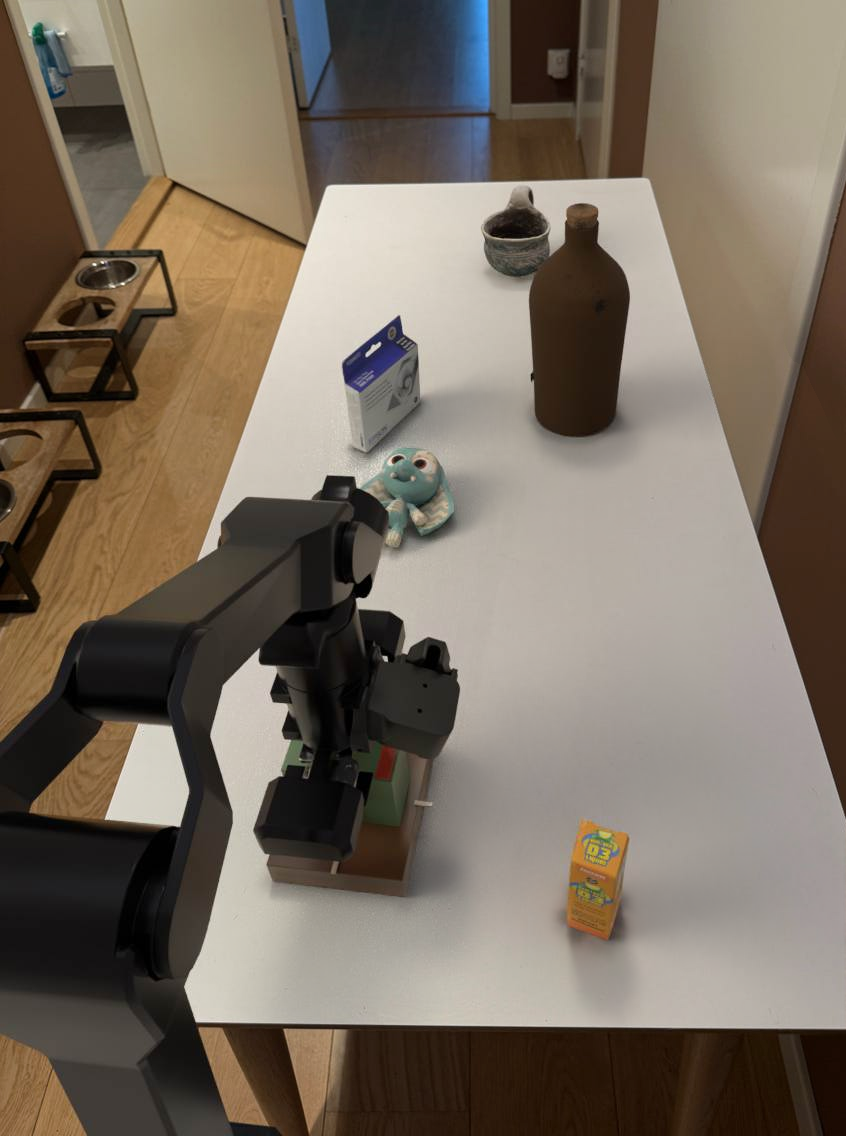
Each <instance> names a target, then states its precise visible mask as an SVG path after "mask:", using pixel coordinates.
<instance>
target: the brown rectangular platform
mask: <svg viewBox="0 0 846 1136" xmlns="http://www.w3.org/2000/svg"><path fill="white" fill-rule="evenodd" d="M406 756H407V762H408V768H409V775H410V783H409V787H408V792H407V796H406V800H405V805H404V809H403V814H402V818H401V823H400V826H399V827H397V826H389V825H380V824H372V823H363V822H362V823H361V827H360V832H359V836H358V840H357V844H356V848H355V853H354V855H353V856H351V857H350V858H349V859H347V860H346V861H344V862H336V861H327V860H317V859H307V858H297V857H288V856H278V855H268V858H267V861H266V868H267V870H268V873H269V876H270V879H271V881H272V882H275V883H276V882H277V883H284V884H285V883H286V884H292V885H293V884H294V885H301V886H309V887H310V886H311V887H318V888H327V889H334V890H335V889H336V890H343V891H352V892H360V893H369V894H377V895H385V896H394V897H403V898H406V897H407V893H408V888H409V885H410V884H409V883H410V878H411V873H412V868H413V862H414V858H415V854H416V849H417V843H418V837H419V833H420V828H421V824H422V823H421V822H422V818H423V814H424V813H423V812H424V808H433V806H434V802H433V801H426V797H427V793H428V788H429V783H430V778H431V772H432V767H433V763H434V759H423V758H420V757H418V756H417V755H415V754H412V753H408V752H406Z"/></svg>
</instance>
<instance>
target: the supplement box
mask: <svg viewBox="0 0 846 1136" xmlns="http://www.w3.org/2000/svg"><path fill="white" fill-rule="evenodd" d="M578 826H579V827H578V830H577V834H576V836H575V837H576V838H575V842H574V845H573V849H572V854H571V857H570V862H569V863H570V864H569V876H568V891H567V905H566V925H567V926H568V927H570V928H573V929H576V930H579V931H581V932H583V933H587V934H589V935H592V936H595V937H598V938H601V939H602V940H606V941H609V938H610V936H611V934H612V930H613V927H614V924H615V921H616V918H617V915H618V911H619V908H620V905H621V900H622V893H623V884H624V876H625V869H626V862H627V855H628V849H629V844H630V836H629V834H628V833H626V832H623V831H616V830H615V831H614V830H612V829H610V828H606V827H603V826H600V825H598V824H595V823H594V822H593V821H590V820H588V819H584V818H582V819H580V822H579V825H578Z"/></svg>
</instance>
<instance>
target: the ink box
mask: <svg viewBox="0 0 846 1136" xmlns="http://www.w3.org/2000/svg"><path fill="white" fill-rule="evenodd" d="M379 343H380V345H379V346H378V347H377V348H376V349H375V350H373V352H371V353H369V355H368V356H366V355H367V353H368V352H370V350H371V349H372V347H373V346H376V345H378V344H379ZM419 360H420V359H419V344H418V343H417V342H416V341H414V340H413V339H411V338H410V337H409V335H407V334H404V331H403V324H402V318H401V315H400V314H398V315H397V316H396V317H394V318H393V319H392V320H391V321H390V322H388V323H387V324H386V325H385V326H384V327H382V328H381V329H380V330H379V331H378V332H375V334H373V335H372V336H371V337H370V338H369V339H367V340H366V341H365V342H364V343H363V344H361V345H360V346H359V347H357V348H356V349H355V350H354V351H353V352H351V354H349V355H348V356H347V357H346V358H344V359H343V360H342V361H341V371H342V377H343V382H344V383H343V384H344V390H345V392H344V393H345V395H346V396H345V398H346V407H347V412H348V422H349V428H350V436H351V445H352V448H353V449H354V450H356V451H360V452H363V453H365V454H366V453H369V452H370V451H371V450H372V449H373V448H374V447H375V446H376V445H377V444H378V443H379V442H380V441H381V440H383V438H384V437H386V435H387V434H388V433H389V432H390V431H392V429H394V428H395V427H396V426H397V425H398V424H399V423H400V422H401V421H402V420H403V419H404V418H405V417H407V415H408V414H409V413H411V412H412V411H413V410H414V409H415V408H416V407H417V406H418V405H419V404H420V403H421V384H420V382H421V381H420V361H419Z"/></svg>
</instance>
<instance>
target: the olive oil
mask: <svg viewBox="0 0 846 1136" xmlns="http://www.w3.org/2000/svg"><path fill="white" fill-rule="evenodd" d="M565 216H566V220H565V221H564V243H563V244H562V245H561V246H560V247H559V248H558V249H557V250H555V251H554V252H553V253H552V254H551V255H549V258H548V259H546V260H545V261H544V262H543V263H542V264H541V266H540V267H539V268H538V270H537V271H536V272H534V276H533V279H532V281H531V284H530V288H529V293H528V310H529V326H530V340H531V341H530V342H531V358H532V372H531V373H530V382H531V384H532V382H533V398H534V399H533V401H534V404H533V405H534V415H535V418H536V420H537V421H538V423H539V424H540V425H541V426H542V427H543V428H544V429H546V430H548V431H550V432H552V433H555V434H557V435H560V436H565V437H587V436H591V435H595V434H598V433H600V432H602V431H604V430H605V429H607V428H609V426H610V425H612V423H613V422H614V420H615V418H616V416H617V415H616V414H617V406H618V396H619V389H620V388H619V387H620V377H621V371H622V364H623V363H622V362H623V354H624V347H625V340H626V333H627V324H628V318H629V311H630V304H631V303H630V302H631V292H630V285H629V282H628V278H627V275H626V273H625V271H624V269H623V268H622V266H621V265H620V263H618V262H617V260H615V258H613V257H612V255H610V254H609V253H608V252H607V251H606V250H605V249H604V248H603V247H602V246H601V245H600V244H599V242H598V240H599V228H600V222H599V220H598V218H599V208H598V207H597V206H596V205H594V204H591V203H586V202H580V203H574V204H571V205H569V206H567V208H566V212H565Z"/></svg>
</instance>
